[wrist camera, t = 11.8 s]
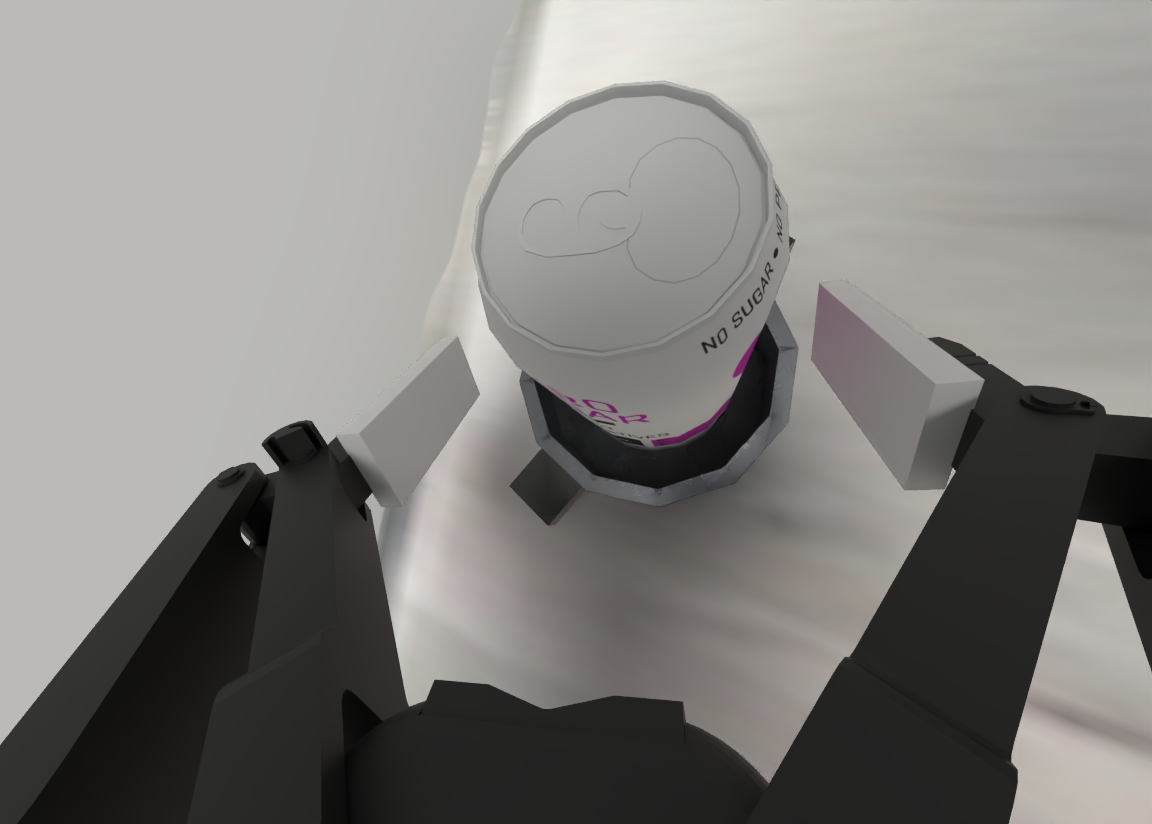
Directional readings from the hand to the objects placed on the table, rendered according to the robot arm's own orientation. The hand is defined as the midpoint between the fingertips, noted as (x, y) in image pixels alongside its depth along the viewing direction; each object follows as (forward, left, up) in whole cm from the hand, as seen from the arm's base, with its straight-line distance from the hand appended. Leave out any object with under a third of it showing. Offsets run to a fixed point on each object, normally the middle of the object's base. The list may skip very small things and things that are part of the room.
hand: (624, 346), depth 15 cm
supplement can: (-1, 0, -9) cm, 9 cm away
